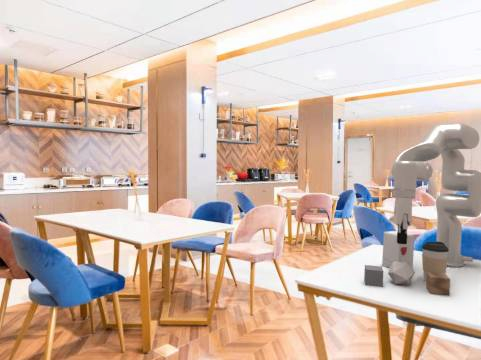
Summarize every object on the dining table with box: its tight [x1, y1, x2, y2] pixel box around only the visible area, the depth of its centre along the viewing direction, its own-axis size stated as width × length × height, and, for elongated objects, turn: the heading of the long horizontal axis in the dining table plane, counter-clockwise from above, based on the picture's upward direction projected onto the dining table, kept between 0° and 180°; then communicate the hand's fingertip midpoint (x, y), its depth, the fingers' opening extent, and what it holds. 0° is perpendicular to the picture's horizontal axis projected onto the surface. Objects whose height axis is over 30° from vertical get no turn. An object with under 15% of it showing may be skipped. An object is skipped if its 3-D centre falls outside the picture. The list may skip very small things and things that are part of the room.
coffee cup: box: [421, 241, 449, 283], centre depth 136 cm, size 9×9×15 cm
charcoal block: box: [363, 264, 384, 288], centre depth 133 cm, size 6×6×6 cm
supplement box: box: [381, 230, 415, 269], centre depth 155 cm, size 9×9×15 cm
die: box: [387, 262, 416, 285], centre depth 134 cm, size 8×9×10 cm
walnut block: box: [425, 272, 451, 297], centre depth 126 cm, size 6×6×6 cm
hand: (401, 243), depth 133 cm, fingers closed
